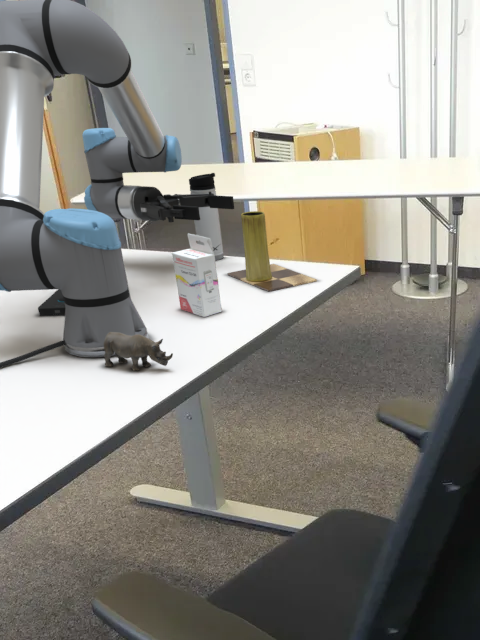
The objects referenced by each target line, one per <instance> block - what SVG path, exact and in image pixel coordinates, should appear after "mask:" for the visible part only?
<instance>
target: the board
mask: <svg viewBox="0 0 480 640" xmlns="http://www.w3.org/2000/svg"><path fill="white" fill-rule="evenodd" d="M270 268H271V274H272V278H271V279H270V280H267V281H261V282H252V281H248V280H247V279H246V269H242V270H241V269H240V270H236V271H232V272H231V271H230V272H227V276H230V277H232V278H234V279H237V280H239V281H242V282H244V283H246V284H248V285H251V286H253V287H256V288H259V289H261V290H263V291H266V292H268V293H269V292H273V291H278V290H284V289H287V288H292V287H297V286H300V285H305V284H310V283H315V282H317V280H318V279H317V278H314V277H311V276H308V275H306V274H303V273H300V272H298V271H295V270H292V269H289V268H286V267H284V266H281V265H278V264H275V263H270Z"/></svg>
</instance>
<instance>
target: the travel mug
mask: <svg viewBox="0 0 480 640" xmlns="http://www.w3.org/2000/svg"><path fill="white" fill-rule="evenodd" d="M215 177H216V173H215V172H211V173H204V174H199V175H194V176H192V177H190V178H189V179H188V184H189V191H190V194H209V191H210V192H211V193H213V194H214V195H217V191H216V185H215ZM199 214H200V220H193V221H194V229H195V235H198V236H202V237H206V238H210V239H211V242H212V247H213V252H214V255H215V261H219V260H222V259H224V247H223V238H222V230H221V222H220V215H219V208H210V207H199ZM196 243H197V244H200V245H204V243H203V242H201V241H200V240H199V241H196Z"/></svg>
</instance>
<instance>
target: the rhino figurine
mask: <svg viewBox="0 0 480 640" xmlns="http://www.w3.org/2000/svg"><path fill="white" fill-rule="evenodd" d="M163 340H164V338H161V339H160V340H158V341H155V340H152V339H150V338H149V337H148V338H147V337H145V336H143V335H139V334H137V335H133V336H130V335H125V334H123V333H119V332H109V333H108V334H107V335H106V337H105V340H104V350H105V354H104V357H103V358H104V366H105V367H113V366H114V362H113V361H112V360H111V358H112V356H111V355H113V354H114V352H115V355H114V356H116V357H117V358H118V359H117V361H118V363H120V364H127V363H128V362H129V360H128V359H131V362H132V364H131V369H132V371H140V369H141V367H140V365H139V361H140V359H141V362H142V363H141V365H142V367H146V368H147V367H151V366H152V363H151V362H149V361H148V357H149V359H150V360H151V361H152V362H155V363H157V364H159V365H161V366H164V367H167V366H168V363H169V361H170V360H171V359H172V358H173V355H174V353H172V352H171V353H170V354H169V355H166V353H167V352H166V351H164V350H162V349H161V346H160V345H161V344H162V343H163Z"/></svg>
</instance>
